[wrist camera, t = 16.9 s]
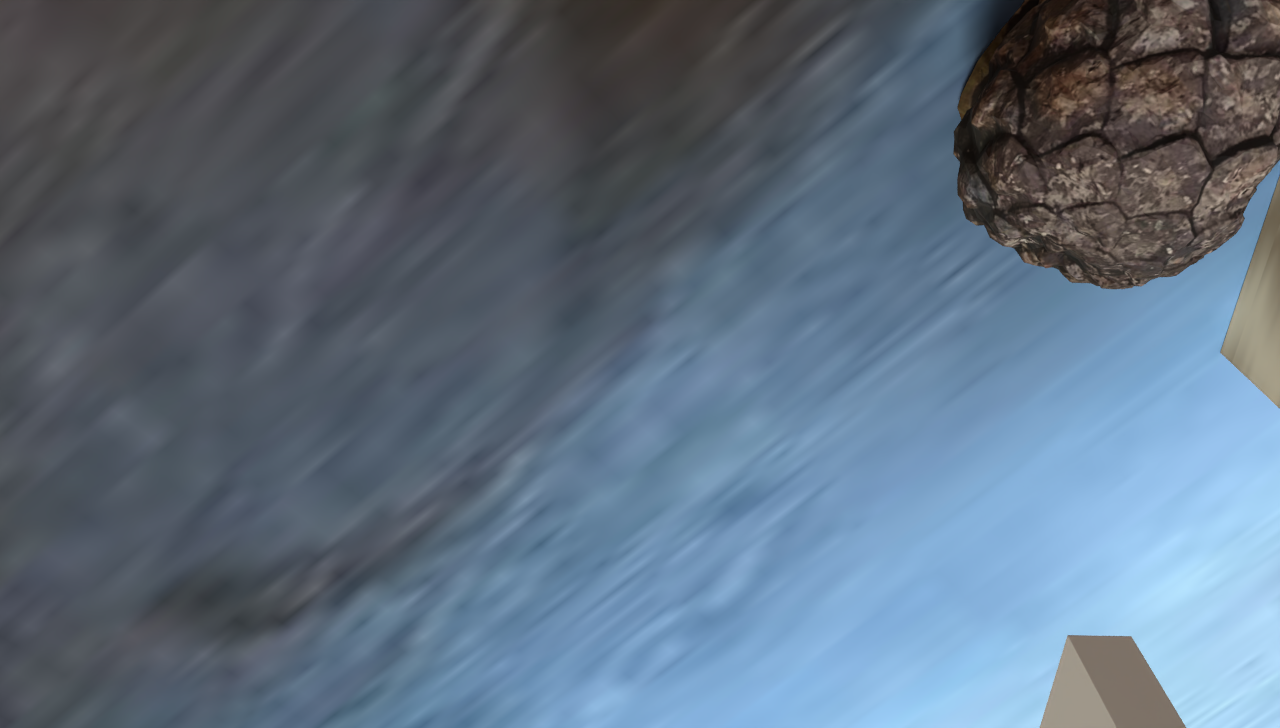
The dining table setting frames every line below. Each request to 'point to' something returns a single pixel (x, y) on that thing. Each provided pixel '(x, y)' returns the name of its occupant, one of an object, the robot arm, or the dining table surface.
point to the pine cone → (1120, 132)
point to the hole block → (1260, 312)
